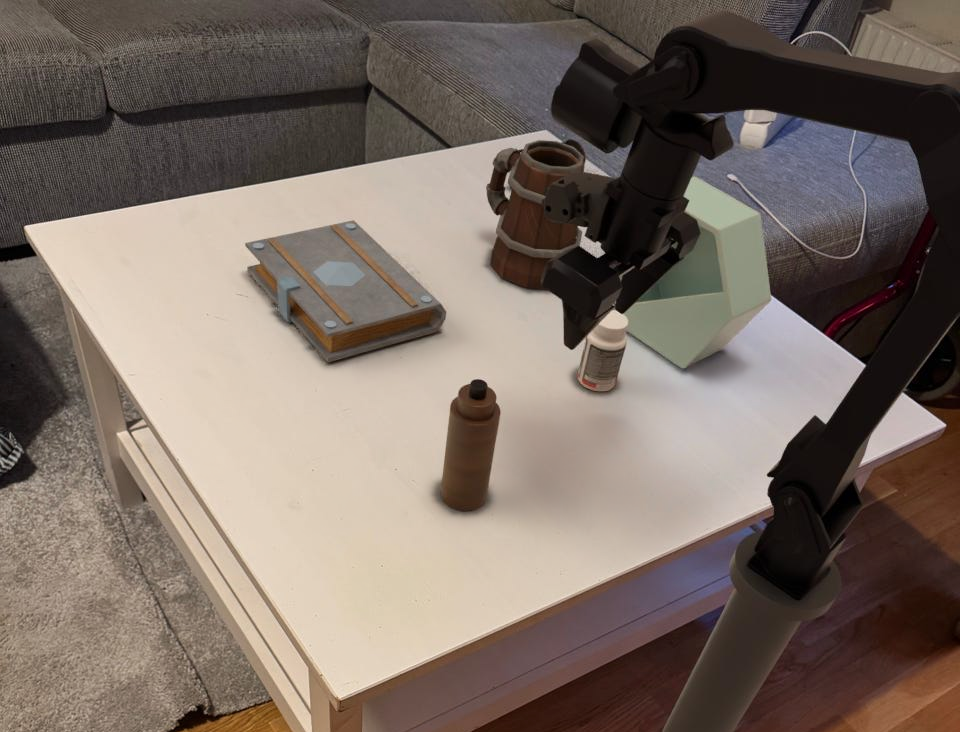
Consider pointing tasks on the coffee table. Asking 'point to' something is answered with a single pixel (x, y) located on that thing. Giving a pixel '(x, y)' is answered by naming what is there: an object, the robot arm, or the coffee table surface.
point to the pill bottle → (603, 353)
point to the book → (343, 290)
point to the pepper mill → (470, 446)
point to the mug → (530, 210)
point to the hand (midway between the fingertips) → (594, 328)
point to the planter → (706, 282)
